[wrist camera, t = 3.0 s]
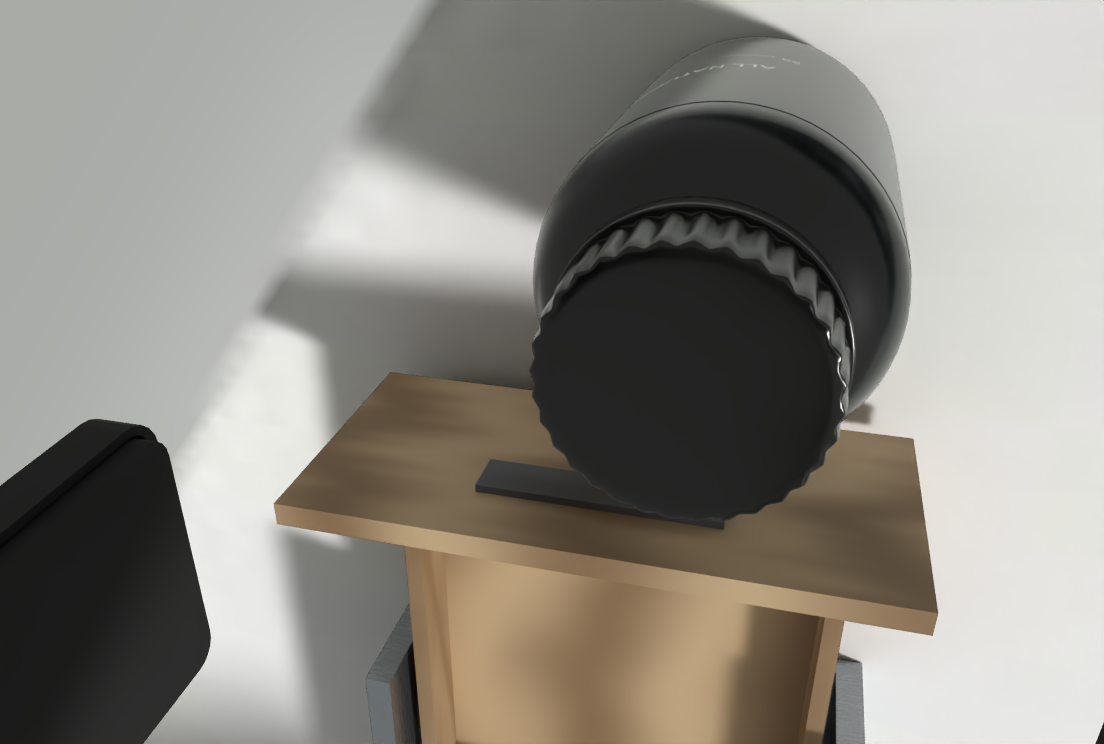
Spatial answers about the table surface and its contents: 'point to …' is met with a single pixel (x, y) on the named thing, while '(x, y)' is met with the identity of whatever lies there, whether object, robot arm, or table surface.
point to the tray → (612, 577)
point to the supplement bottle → (721, 282)
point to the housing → (400, 709)
